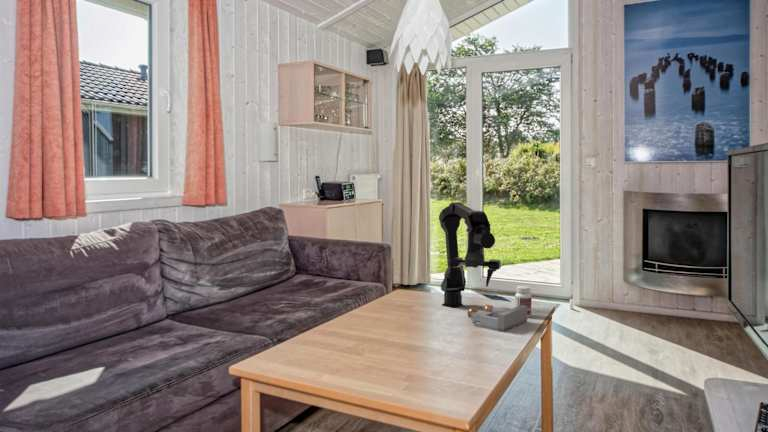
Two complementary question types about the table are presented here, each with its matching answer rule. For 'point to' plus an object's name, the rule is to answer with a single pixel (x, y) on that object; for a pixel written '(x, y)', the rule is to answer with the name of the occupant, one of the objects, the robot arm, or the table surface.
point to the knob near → (477, 314)
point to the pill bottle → (523, 298)
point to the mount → (504, 319)
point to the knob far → (493, 309)
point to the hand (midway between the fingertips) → (474, 285)
